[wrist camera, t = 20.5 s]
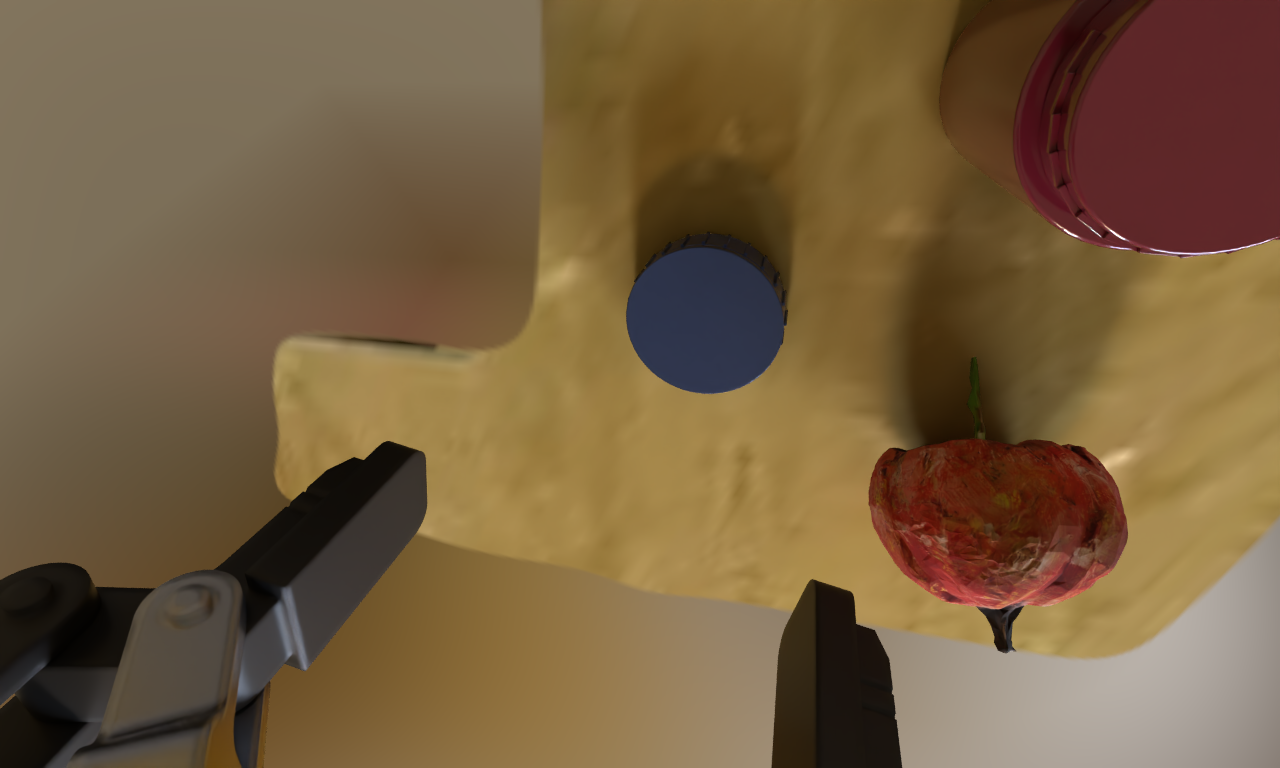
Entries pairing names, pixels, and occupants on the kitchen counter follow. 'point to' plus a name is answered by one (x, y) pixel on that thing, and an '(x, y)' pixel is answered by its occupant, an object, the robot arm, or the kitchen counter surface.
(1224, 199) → the jar
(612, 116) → the kitchen counter surface
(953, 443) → the pomegranate
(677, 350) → the lid
